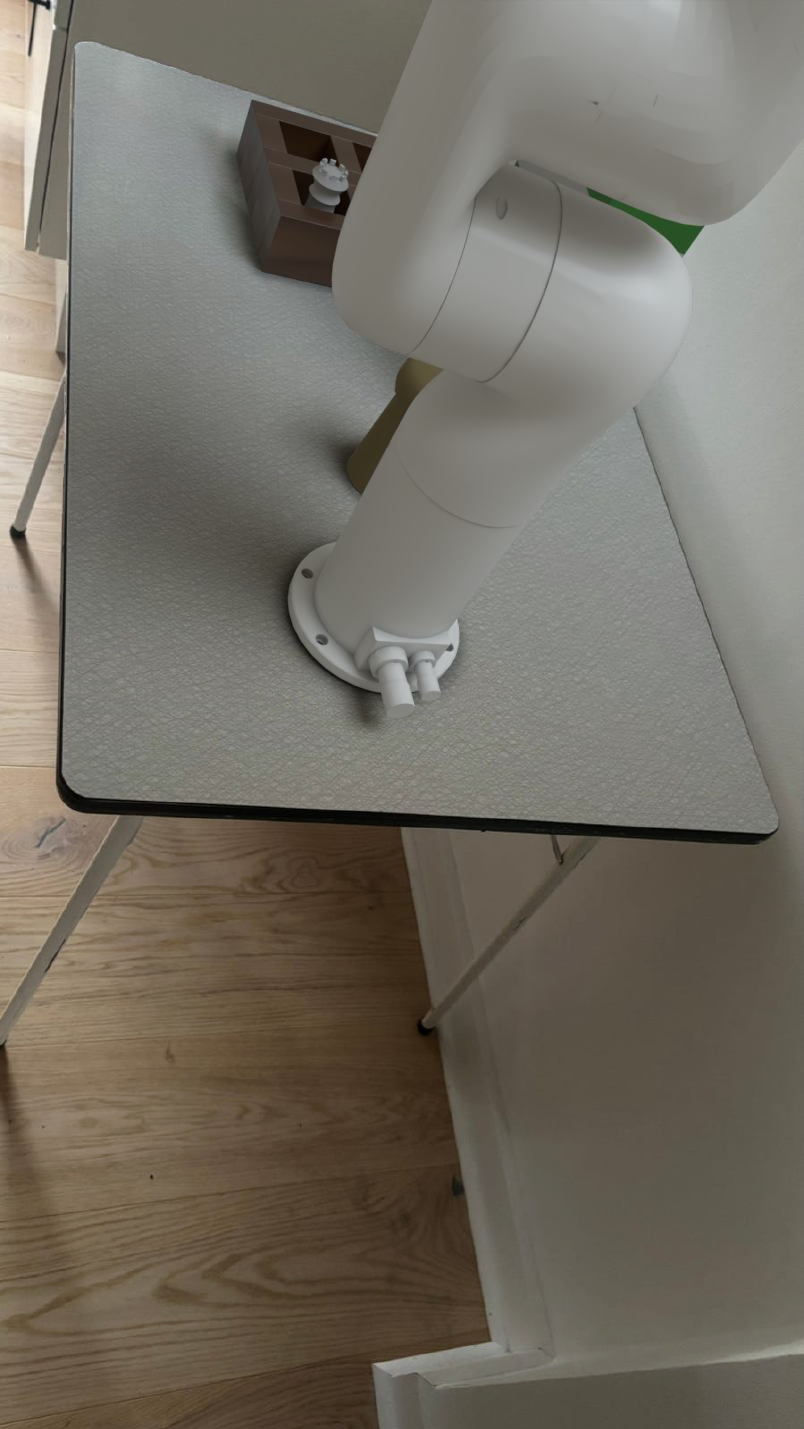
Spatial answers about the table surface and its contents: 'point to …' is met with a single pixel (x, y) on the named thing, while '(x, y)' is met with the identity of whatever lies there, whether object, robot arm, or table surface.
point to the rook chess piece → (327, 186)
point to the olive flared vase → (388, 421)
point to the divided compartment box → (295, 187)
